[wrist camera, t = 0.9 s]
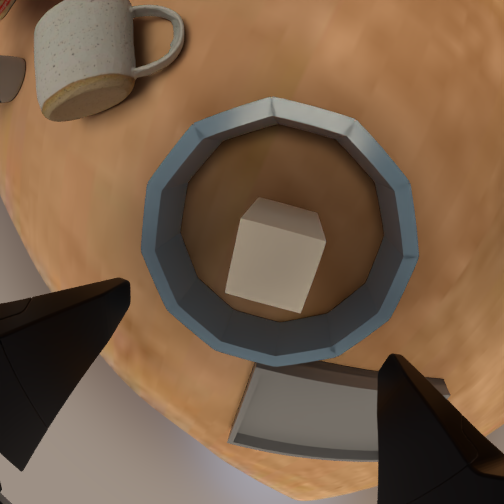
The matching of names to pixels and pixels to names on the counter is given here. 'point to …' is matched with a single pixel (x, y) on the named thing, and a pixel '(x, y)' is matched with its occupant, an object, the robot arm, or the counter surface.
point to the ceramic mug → (92, 55)
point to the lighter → (5, 7)
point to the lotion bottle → (10, 77)
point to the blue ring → (249, 326)
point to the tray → (312, 411)
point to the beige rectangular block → (276, 254)
